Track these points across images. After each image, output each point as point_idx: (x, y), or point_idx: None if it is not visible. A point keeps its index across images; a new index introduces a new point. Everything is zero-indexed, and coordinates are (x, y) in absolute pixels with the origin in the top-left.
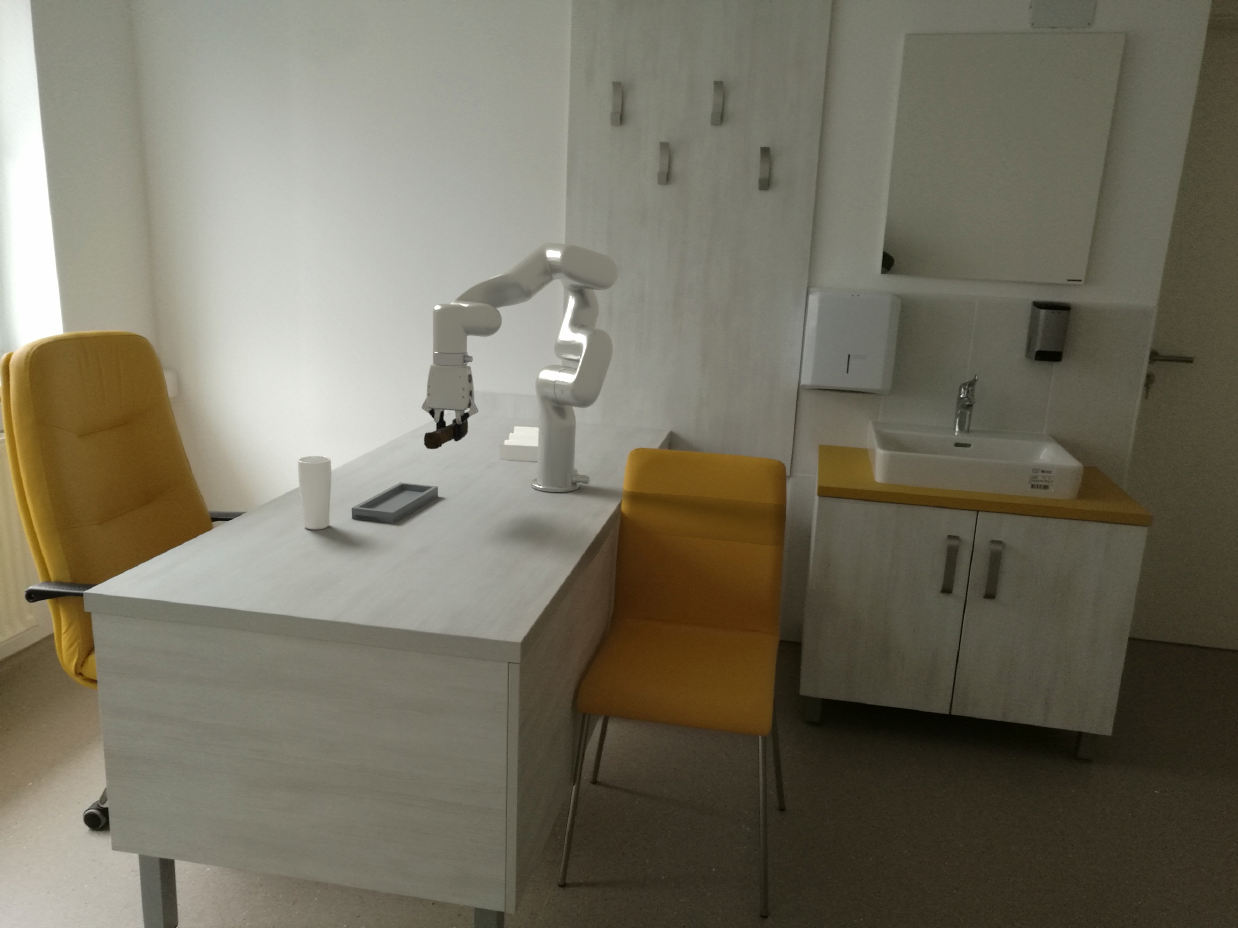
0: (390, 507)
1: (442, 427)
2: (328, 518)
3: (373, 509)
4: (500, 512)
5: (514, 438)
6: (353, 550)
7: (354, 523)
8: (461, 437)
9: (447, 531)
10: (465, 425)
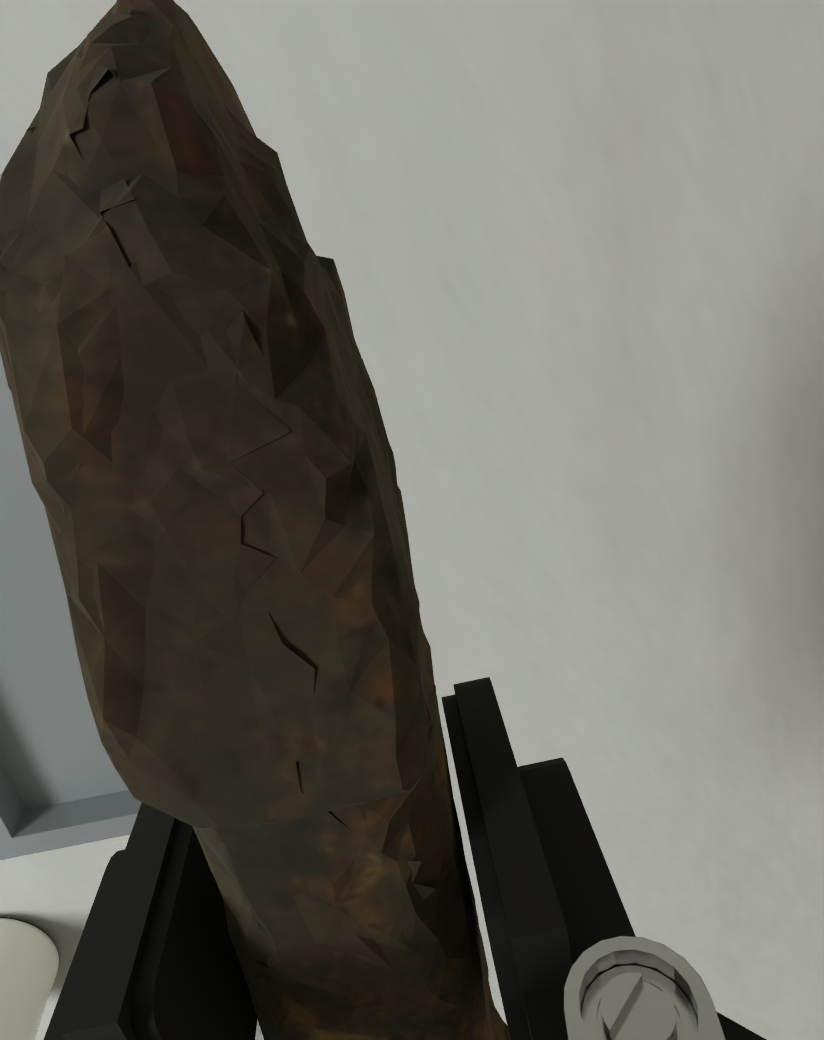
0: (68, 653)
1: (230, 1023)
2: (39, 973)
3: (113, 826)
4: (649, 300)
5: None
6: None
7: (96, 850)
8: (493, 697)
9: (542, 726)
10: (382, 458)
